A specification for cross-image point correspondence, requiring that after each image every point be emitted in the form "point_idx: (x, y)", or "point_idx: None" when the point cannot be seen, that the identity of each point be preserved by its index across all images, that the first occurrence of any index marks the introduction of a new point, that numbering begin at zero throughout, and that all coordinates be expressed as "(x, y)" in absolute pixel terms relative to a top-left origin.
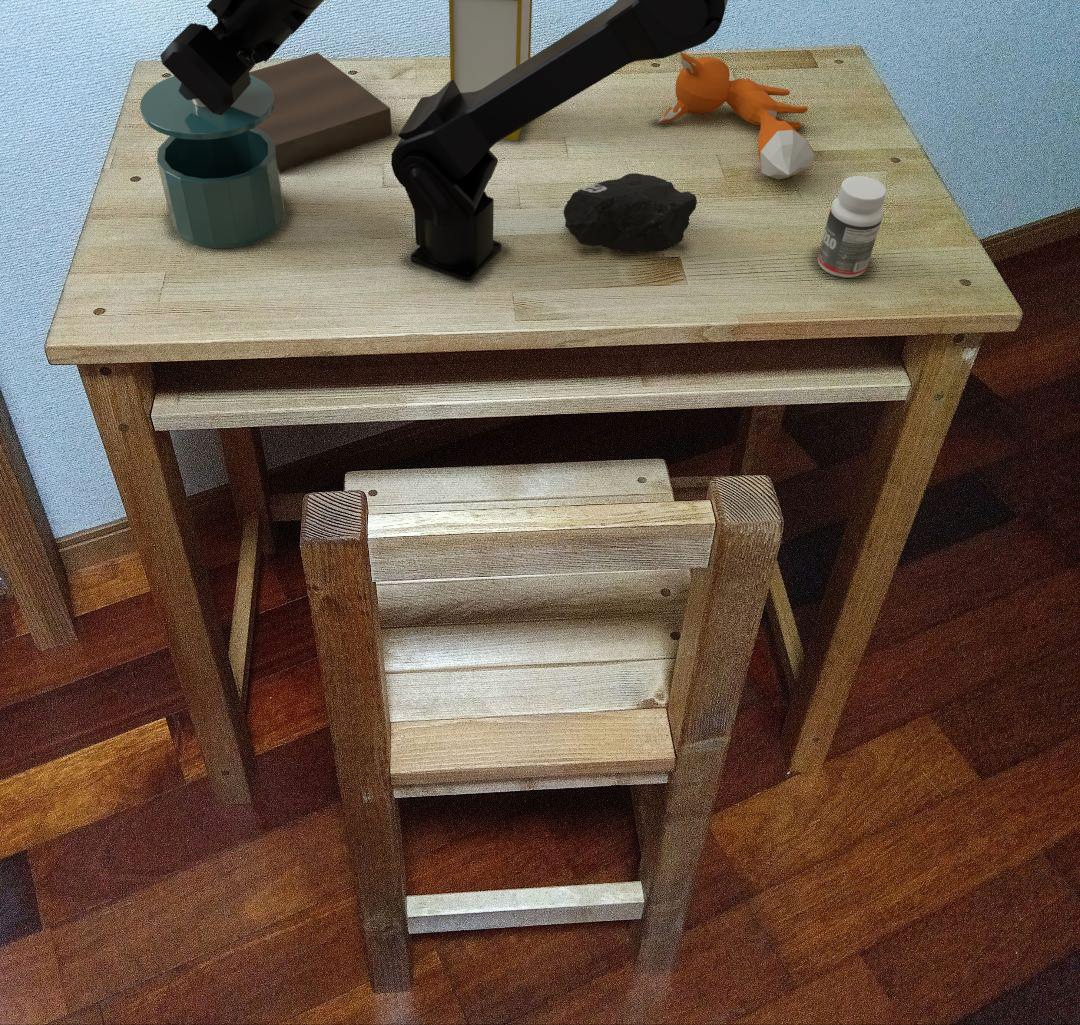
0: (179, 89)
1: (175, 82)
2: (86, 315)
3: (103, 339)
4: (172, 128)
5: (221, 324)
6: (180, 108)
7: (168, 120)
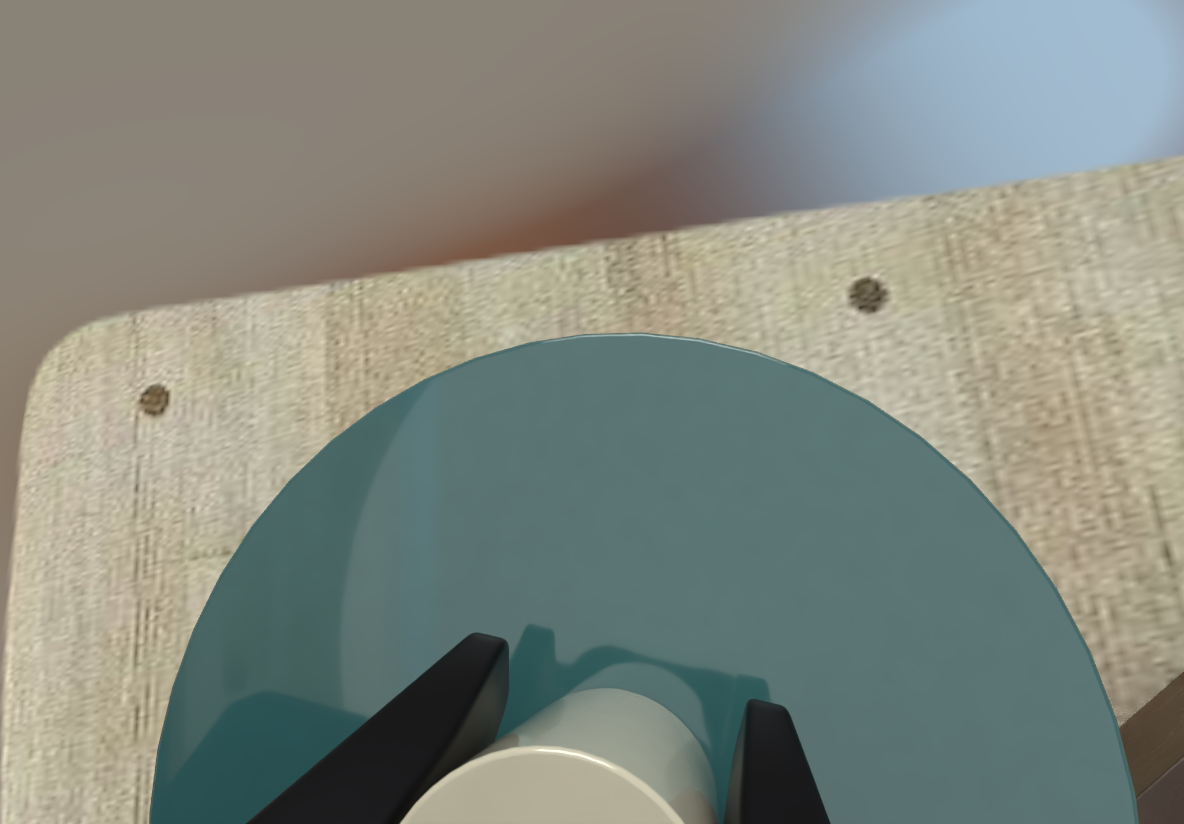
0: (453, 649)
1: (844, 500)
2: (140, 370)
3: (37, 447)
4: (215, 634)
5: (74, 779)
6: (471, 627)
7: (316, 582)
